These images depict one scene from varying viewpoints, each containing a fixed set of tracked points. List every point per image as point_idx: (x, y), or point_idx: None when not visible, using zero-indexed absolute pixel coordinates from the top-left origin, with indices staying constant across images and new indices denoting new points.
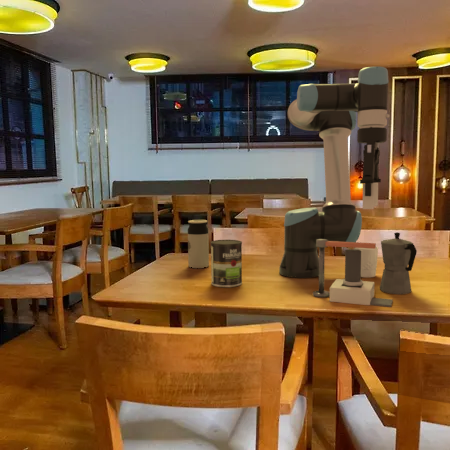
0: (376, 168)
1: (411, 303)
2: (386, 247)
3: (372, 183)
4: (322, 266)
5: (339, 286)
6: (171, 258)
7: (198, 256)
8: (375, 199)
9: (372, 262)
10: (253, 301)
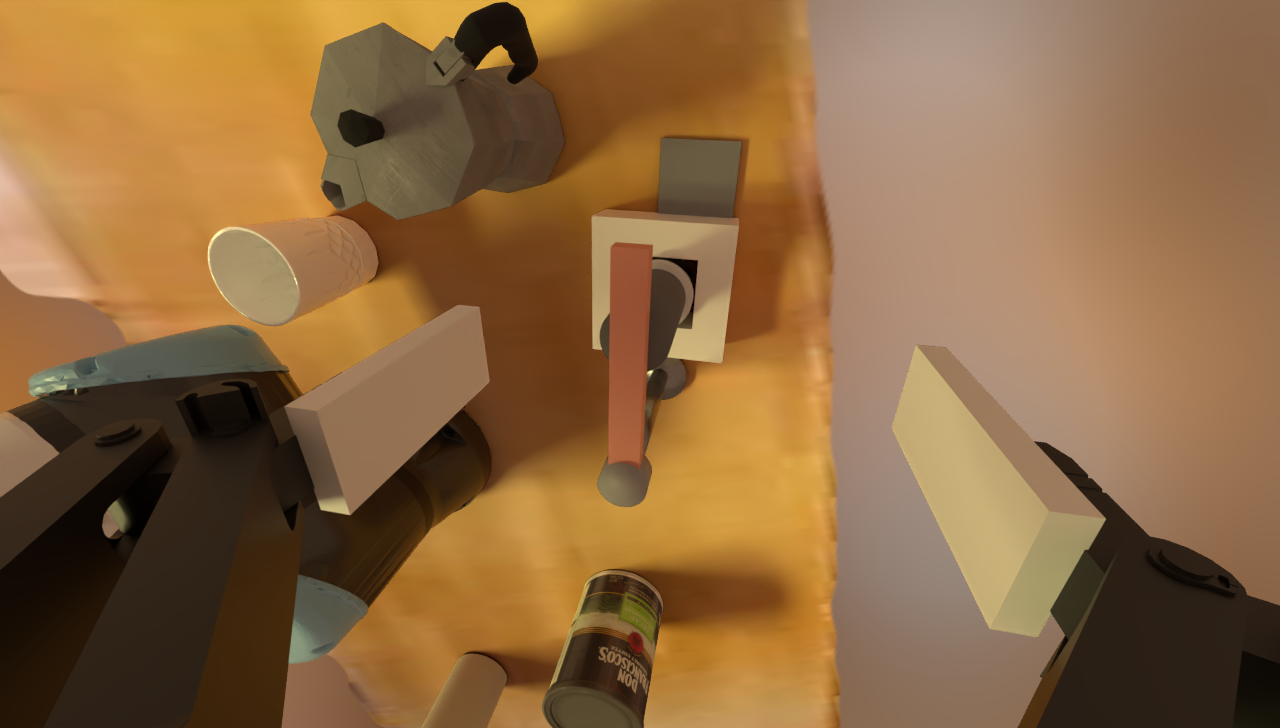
0: (224, 627)
1: (671, 62)
2: (467, 185)
3: (343, 466)
4: (653, 419)
5: (698, 334)
6: None
7: (489, 700)
8: (452, 345)
9: (323, 237)
10: (776, 527)
